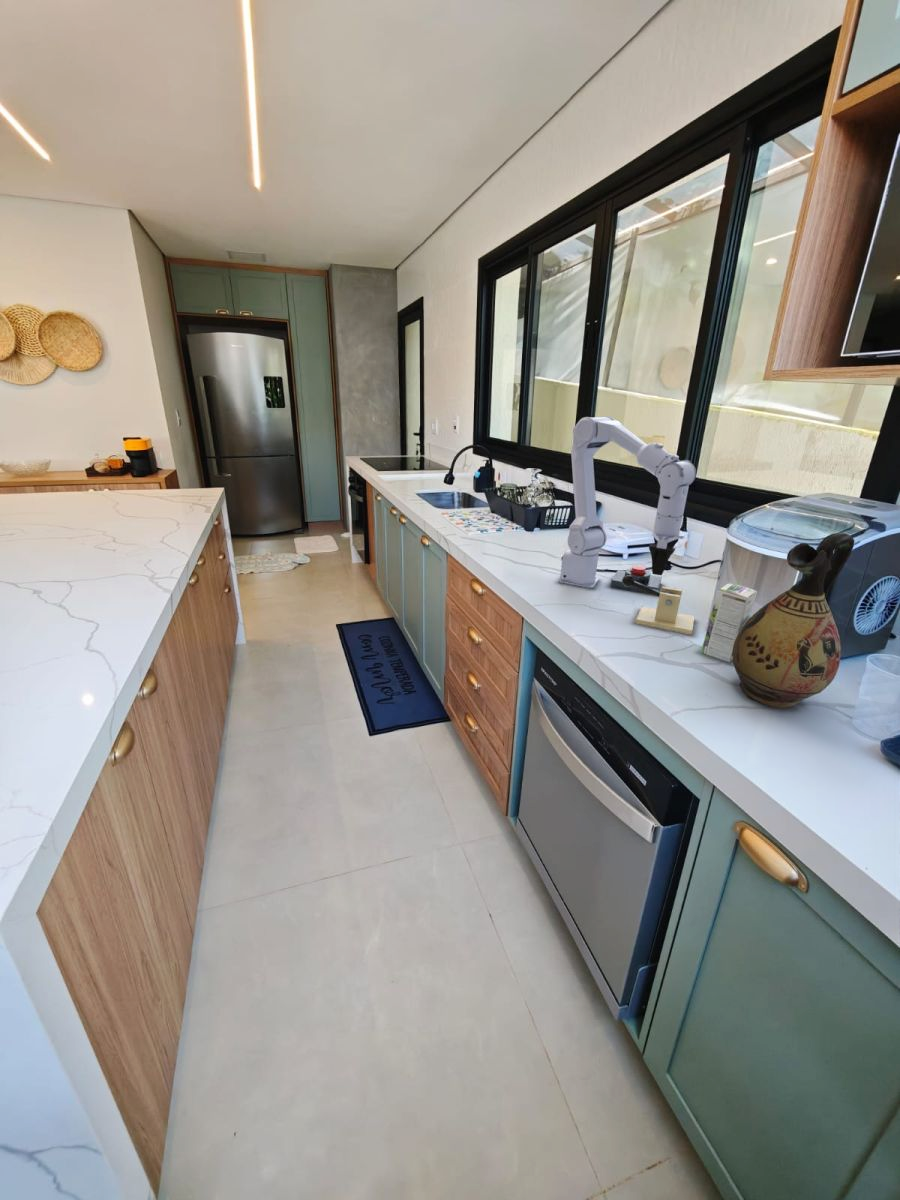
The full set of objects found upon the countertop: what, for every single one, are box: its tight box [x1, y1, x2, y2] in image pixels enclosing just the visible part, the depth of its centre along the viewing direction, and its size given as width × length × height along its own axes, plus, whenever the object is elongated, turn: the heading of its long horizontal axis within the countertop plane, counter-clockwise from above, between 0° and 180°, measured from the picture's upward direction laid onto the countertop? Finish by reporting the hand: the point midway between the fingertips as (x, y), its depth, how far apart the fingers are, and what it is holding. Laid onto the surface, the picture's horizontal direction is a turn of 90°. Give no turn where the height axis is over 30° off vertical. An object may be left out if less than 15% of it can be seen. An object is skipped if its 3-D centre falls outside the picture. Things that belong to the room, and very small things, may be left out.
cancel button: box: [631, 565, 647, 575], centre depth 139 cm, size 4×4×2 cm
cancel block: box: [610, 568, 663, 595], centre depth 140 cm, size 12×10×4 cm
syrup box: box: [700, 583, 758, 663], centre depth 102 cm, size 6×6×14 cm
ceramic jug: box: [732, 532, 855, 709], centre depth 85 cm, size 17×15×30 cm
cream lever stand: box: [635, 586, 696, 636], centre depth 117 cm, size 12×9×8 cm
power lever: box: [622, 575, 676, 598], centre depth 118 cm, size 13×3×3 cm, turn 63°
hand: (658, 569), depth 122 cm, fingers open, 7 cm apart
